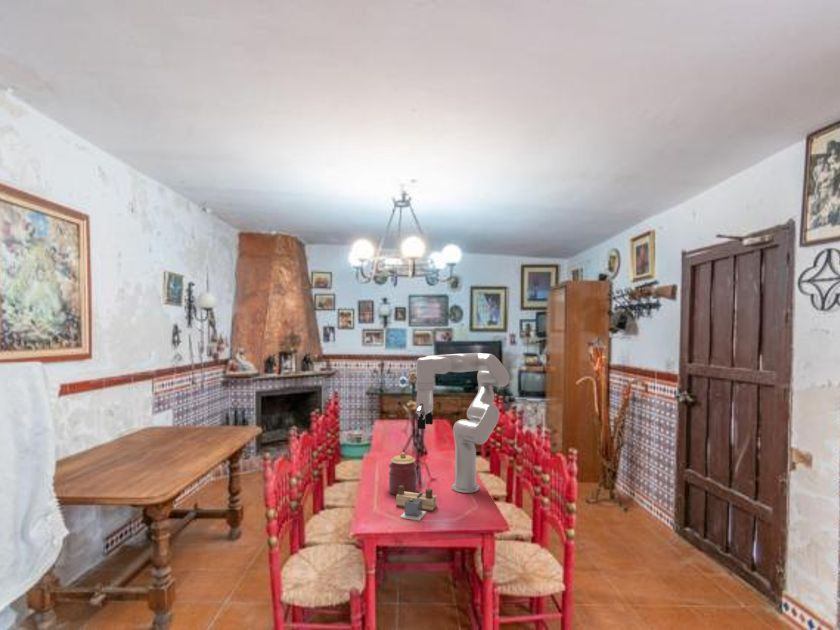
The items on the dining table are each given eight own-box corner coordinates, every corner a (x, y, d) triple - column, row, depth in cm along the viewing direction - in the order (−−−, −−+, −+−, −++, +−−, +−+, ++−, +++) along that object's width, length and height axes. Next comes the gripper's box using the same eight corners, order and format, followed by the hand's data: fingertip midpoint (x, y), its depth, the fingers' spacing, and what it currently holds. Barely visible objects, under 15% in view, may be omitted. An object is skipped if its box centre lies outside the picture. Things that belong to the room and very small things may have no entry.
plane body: (401, 501, 200) (401, 483, 200) (436, 506, 194) (436, 488, 195) (396, 506, 195) (396, 488, 195) (432, 511, 189) (432, 492, 189)
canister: (413, 497, 205) (413, 457, 205) (385, 495, 207) (385, 455, 208) (419, 487, 217) (419, 449, 218) (392, 485, 220) (392, 447, 220)
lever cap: (409, 510, 189) (409, 496, 189) (422, 512, 187) (422, 497, 187) (404, 515, 184) (404, 500, 184) (417, 517, 182) (417, 502, 182)
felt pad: (407, 510, 191) (407, 508, 191) (426, 512, 188) (426, 511, 188) (400, 517, 183) (400, 516, 183) (419, 520, 180) (419, 519, 180)
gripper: (423, 383, 210) (423, 421, 209) (409, 388, 193) (409, 430, 193) (439, 384, 207) (439, 423, 207) (427, 389, 191) (427, 431, 190)
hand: (425, 426), depth 200 cm, fingers open, 9 cm apart
